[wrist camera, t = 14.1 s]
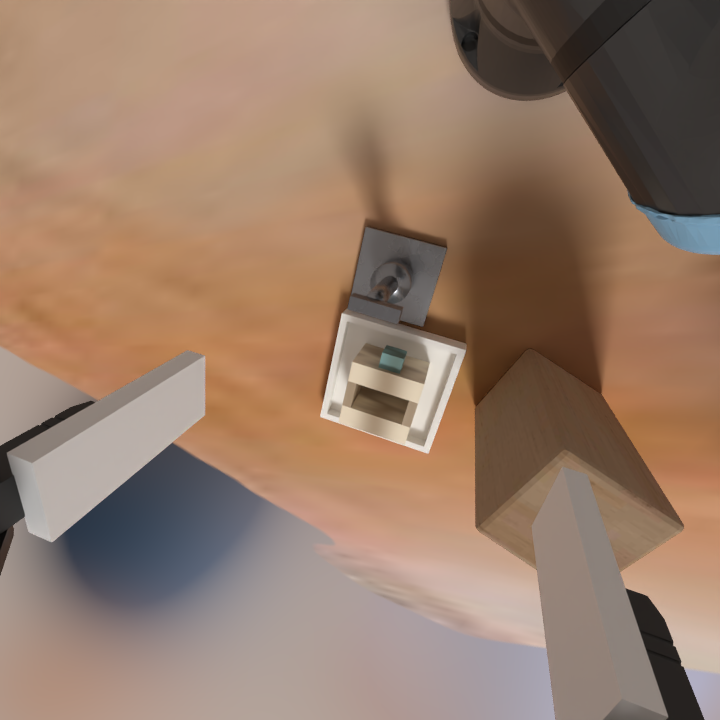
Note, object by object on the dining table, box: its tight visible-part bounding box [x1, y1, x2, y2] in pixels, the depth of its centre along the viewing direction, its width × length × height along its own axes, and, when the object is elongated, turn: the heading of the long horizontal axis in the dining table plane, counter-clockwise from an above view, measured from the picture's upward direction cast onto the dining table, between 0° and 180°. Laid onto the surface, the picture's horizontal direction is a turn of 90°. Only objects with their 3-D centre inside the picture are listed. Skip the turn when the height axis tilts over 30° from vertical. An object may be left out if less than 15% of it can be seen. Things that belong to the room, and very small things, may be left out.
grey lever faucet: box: [348, 226, 447, 327], centre depth 40 cm, size 9×9×14 cm
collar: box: [338, 343, 430, 445], centre depth 47 cm, size 8×10×6 cm
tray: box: [320, 308, 467, 453], centre depth 50 cm, size 15×15×2 cm
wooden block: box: [475, 349, 684, 572], centre depth 38 cm, size 10×10×20 cm
